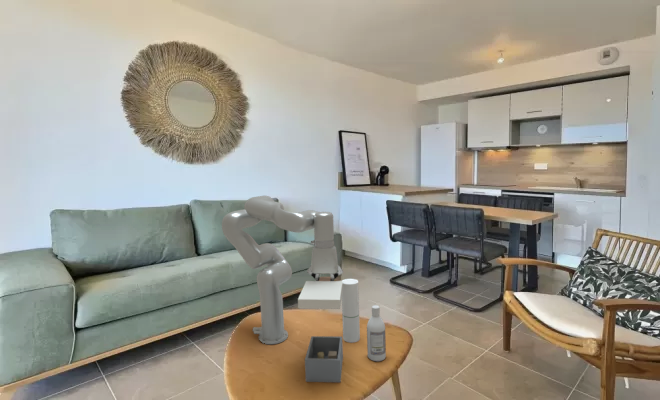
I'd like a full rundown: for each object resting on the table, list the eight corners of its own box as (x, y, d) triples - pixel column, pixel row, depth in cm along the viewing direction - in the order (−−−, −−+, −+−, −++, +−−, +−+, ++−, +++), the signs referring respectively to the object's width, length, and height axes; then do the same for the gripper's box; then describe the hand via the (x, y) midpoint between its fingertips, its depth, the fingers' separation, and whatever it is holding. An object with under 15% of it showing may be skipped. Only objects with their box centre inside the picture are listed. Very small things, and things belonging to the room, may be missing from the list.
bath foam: (389, 358, 129) (388, 307, 127) (374, 363, 126) (372, 312, 124) (379, 350, 135) (378, 301, 133) (364, 354, 132) (362, 305, 130)
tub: (340, 382, 116) (339, 360, 115) (305, 381, 117) (304, 359, 116) (342, 356, 131) (342, 336, 131) (312, 355, 133) (311, 336, 132)
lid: (340, 309, 112) (339, 299, 112) (298, 308, 113) (297, 299, 113) (343, 284, 135) (343, 276, 135) (308, 284, 136) (308, 276, 136)
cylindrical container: (359, 334, 148) (358, 278, 146) (359, 342, 141) (358, 284, 139) (343, 334, 149) (341, 278, 147) (342, 342, 142) (340, 284, 139)
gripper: (301, 246, 129) (302, 292, 131) (345, 246, 127) (346, 293, 129) (304, 241, 136) (305, 285, 138) (346, 241, 135) (347, 286, 137)
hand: (325, 288), depth 134 cm, fingers closed on lid, 4 cm apart
